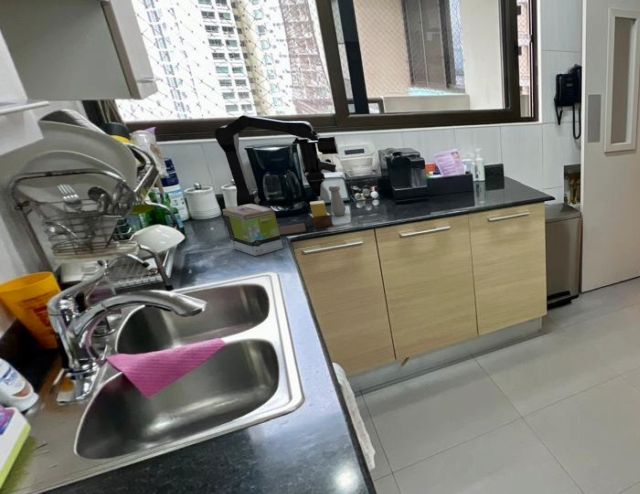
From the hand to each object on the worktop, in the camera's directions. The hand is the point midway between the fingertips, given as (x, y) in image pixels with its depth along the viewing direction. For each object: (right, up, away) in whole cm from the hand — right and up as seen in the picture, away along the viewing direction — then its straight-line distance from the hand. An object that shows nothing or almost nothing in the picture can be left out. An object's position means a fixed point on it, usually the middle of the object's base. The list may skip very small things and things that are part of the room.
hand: (317, 193), depth 189 cm
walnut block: (0, -12, +3) cm, 13 cm away
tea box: (-8, -23, -23) cm, 34 cm away
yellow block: (0, -8, +1) cm, 8 cm away
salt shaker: (0, -7, +17) cm, 18 cm away
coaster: (-9, -15, -4) cm, 18 cm away
